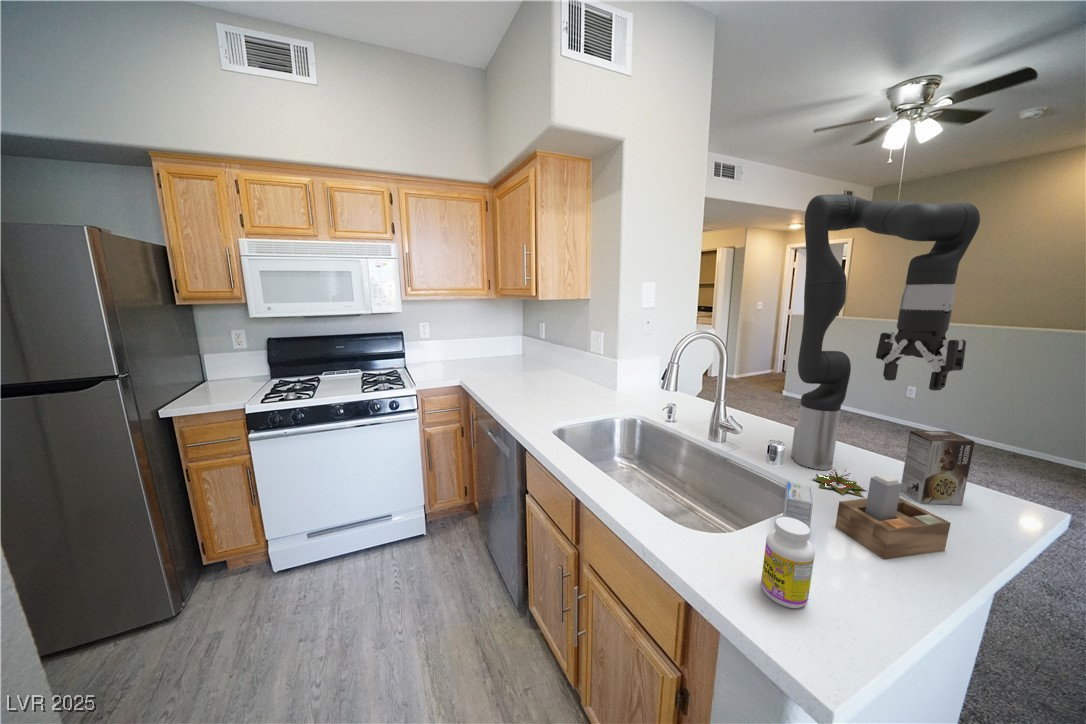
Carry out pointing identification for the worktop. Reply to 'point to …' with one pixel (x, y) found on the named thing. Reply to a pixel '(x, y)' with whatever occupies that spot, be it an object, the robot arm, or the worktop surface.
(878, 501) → the plug
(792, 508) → the medicine box
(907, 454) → the coffee box
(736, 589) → the worktop surface
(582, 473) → the worktop surface
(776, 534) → the supplement bottle
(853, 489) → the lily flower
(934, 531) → the socket block
